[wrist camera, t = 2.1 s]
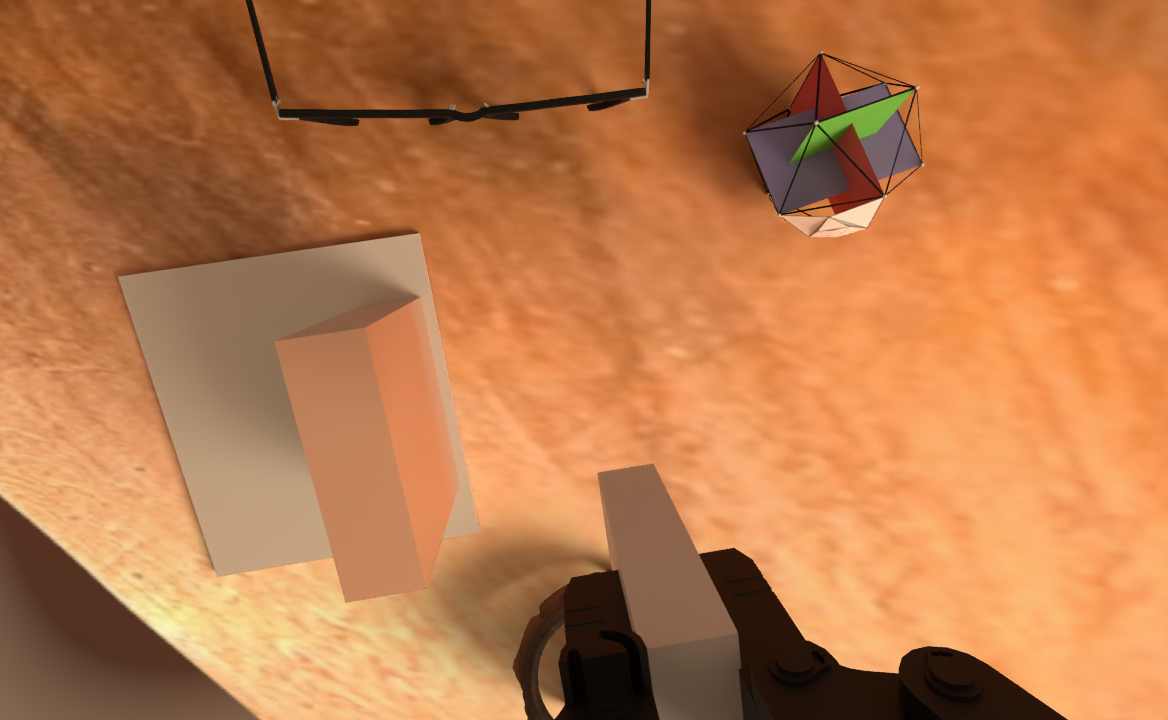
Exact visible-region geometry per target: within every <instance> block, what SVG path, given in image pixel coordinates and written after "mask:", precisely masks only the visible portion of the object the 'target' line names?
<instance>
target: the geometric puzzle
mask: <svg viewBox="0 0 1168 720" xmlns="http://www.w3.org/2000/svg"><path fill="white" fill-rule="evenodd" d="M822 54H823V55H825V56H827V57H829V58H831V59H834V58H835V57H832V56H829V55H826V54H824V53H823V51H822V50H821V51H819V55H818V56H817V57H816V58H817V59H816V58H815V59H816V61H815V63H814V64H813V66H812V68H811V70H810V72H809V74H808V75H807V77H806V79H805V81H804V83H803V84H802V86H801V88H800V90H799V92H798V93H797V95H796V97H795V99H794V101H793V102H792V104H791V106H790V107H789V108H788V109H787V110H785V111H783V112H781V113H779V114H777V115H775V116H774V117H772V118H770V119H768V120H766V121H764V122H762V123H760V124H758V125H756V126H754V127H752V128H751V129H749V128H750V127H751V126H752V125H753V124H754V123H755V122H756V121H757V120H758V119H759V118H758V119H757V120H756V121H755V122H754V123H753V124H752V125H751V126H750V127H749V128H748V129H749V130H748V129H747V130H746V131H744V132H743V135H746V138H747V140H748V143H749V146H750V148H751V151H752V154H753V156H754V159H755V162H756V161H757V162H756V165H757V164H758V165H757V167H758V166H759V167H758V170H759V169H760V170H759V173H760V171H761V173H762V175H761V173H760V175H761V178H762V176H763V178H764V181H765V183H766V185H767V188H768V192H767V194H766V195H767V196H771V197H772V200H773V202H774V204H773V205H775V206H774V207H776V208H775V209H776V211H777V213H778V214H777V216H778V217H780V216H781V217H782V218H783V219H785V220H786V221H788V222H789V223H790V224H792V225H793V226H794V227H796V228H797V229H798V230H800V231H801V232H802V233H804V234H805V235H806V236H808V237H839V236H843V235H846V234H849V233H853V232H856V231H860V230H863V229H866V228H868V226H869V225H870V223H871V221H872V219H873V217H874V215H875V214H876V212H877V210H878V208H879V206H880V205H881V203H882V201H883V199H884V198H886V197H887V194H889V193H890V192H891V191H892V190H893V189H894V188H896V187H897V186H898V185H899V184H900V183H902V182H903V181H904V180H905V179H906V178H907V177H909V176H910V175H911V174H912V173H913V172H914V171H916V170H917V169H918V168H919V167H920V166H921V167H922V166H924V163H922V161H921V159H920V157H919V155H918V153H917V150H916V148H915V146H914V144H913V142H912V140H911V137H910V135H909V133H908V131H907V129H906V125H907V121H908V118H909V114H910V111H911V108H912V104H913V101H914V97H915V94H916V90H917V89H919V85H916V86H912V85H909V84H907V83H904V82H901V81H898V80H896V79H893V78H890V77H887V76H885V77H887V78H890V79H893V80H896V81H898V82H901V83H904V84H907V85H909V86H907V85H900V84H893V83H887V82H883V81H881V80H878V79H876V78H874V77H872V76H870V75H868V74H866V73H864V72H861V71H859V70H857V69H855V68H853V67H851V66H849V65H847V64H845V63H842V62H840V61H843V60H840V59H838V60H840V61H838V60H836V59H837V58H835V59H834V60H836V61H838V62H840V63H842V64H844V65H846V66H848V67H851V68H853V69H855V70H857V71H859V72H861V73H863V74H865V75H868V76H870V77H872V78H874V79H876V80H878V81H880V82H882V83H880V84H877V85H873V86H869V87H866V88H862V89H858V90H855V91H851V92H847V93H844V94H839V92H838V90H837V88H836V85H835V83H834V81H833V79H832V77H831V74H830V72H829V70H828V68H827V65H826V63H825V61H824V59H823V56H822ZM815 59H814V60H815ZM814 60H813V61H814ZM813 61H812V62H813ZM812 62H811V63H812ZM843 62H846V61H843ZM811 63H810V64H811ZM846 63H849V62H846ZM810 64H809V65H810ZM849 64H851V63H849ZM809 65H808V66H809ZM851 65H854V64H851ZM808 66H807V67H808ZM854 66H857V65H854ZM807 67H806V68H807ZM857 67H860V66H857ZM806 68H805V69H806ZM860 68H862V67H860ZM805 69H804V70H805ZM863 69H865V68H863ZM865 70H868V69H865ZM868 71H871V70H868ZM871 72H873V71H871ZM874 73H876V72H874ZM801 74H802V73H801ZM801 74H800V75H801ZM876 74H879V73H876ZM800 75H799V76H800ZM879 75H882V74H879ZM799 76H798V77H799ZM882 76H884V75H882ZM798 77H797V78H798ZM797 78H796V79H797ZM796 79H795V80H796ZM795 80H794V81H795ZM794 81H793V82H794ZM793 82H792V83H793ZM792 83H791V84H792ZM791 84H790V85H791ZM887 84H890V85H896V86H903V87H910V88H911V89H908V90H905V91H902V92H899V93H896V94H894V95H891V94H890V92H889V90H888V87H887ZM790 85H789V86H790ZM789 86H788V87H789ZM788 87H787V88H788ZM787 88H786V89H787ZM786 89H785V90H786ZM785 90H784V91H785ZM862 90H863V91H862ZM914 90H915V92H914V96H913V99H912V102H911V106H910V109H909V113H908V116H907V119H906V123H905V124H904V122H903V120H902V118H901V116H900V113H899V111H898V108H899V107H900V106H901V105H902V103H903V102H904V101H905V100H906V99H907V98H908V97H909V96H910V95H911V93H912V92H913V91H914ZM784 91H783V92H784ZM859 91H860V92H859ZM855 92H857V93H855ZM851 93H855V94H852V95H849V96H846V97H843V98H841V97H840V96H844V95H848V94H851ZM780 96H781V95H780ZM780 96H779V97H780ZM779 97H778V98H779ZM778 98H777V99H778ZM777 99H776V100H777ZM776 100H775V101H776ZM775 101H774V102H775ZM774 102H773V103H774ZM773 103H772V104H773ZM917 103H918V95H917ZM772 104H771V105H772ZM771 105H770V106H771ZM770 106H769V107H770ZM769 107H768V108H769ZM768 108H767V109H768ZM767 109H766V110H767ZM766 110H765V111H766ZM765 111H764V112H765ZM787 111H788V115H787V118H784V119H781V120H778V121H775V122H772V123H770V124H767V125H764V126H761V127H758V126H760V125H762V124H764V123H766V122H768V121H770V120H772V119H773V118H775V117H777V116H779V115H781V114H783V113H785V112H787ZM764 112H763V113H764ZM790 112H791V113H792V116H789V114H790ZM763 113H762V114H763ZM918 117H919V108H918ZM756 127H758V128H756ZM754 128H755V129H754ZM919 130H920V122H919ZM920 144H921V136H920ZM921 157H922V149H921ZM917 166H919V167H918V168H917V169H915V170H914V171H913V172H912V173H911V174H910V175H908V176H907V177H906V178H905V179H904V180H902V181H901V182H900V183H899V184H898V185H897V186H895V187H894V188H893V189H892V190H891V191H889V192H888V193H887V190H888V186H889V183H890V179H891V176H892V175H894V174H897V173H900V172H903V171H906V170H908V169H911V168H914V167H917ZM889 176H890V178H889V181H888V184H887V188H886V191H885V194H884V193H883V191H882V189H881V186H880V184H879V182H878V180H880V179H883V178H886V177H889ZM763 178H762V181H763ZM764 181H763V183H764ZM764 186H765V184H764ZM765 189H766V186H765ZM766 191H767V189H766ZM886 193H887V194H886ZM769 198H770V197H769ZM826 198H828V199H829V201H830V204H831V205H828V206H823V207H817V208H811V209H806V210H799V209H798V208H801V207H803V206H806V205H809V204H812V203H815V202H818V201H820V200H823V199H826ZM770 200H771V199H770ZM772 200H771V202H772ZM773 202H772V203H773ZM831 206H832V208H833V211H834V213H835V215H833V216H831V217H814V216H811V215H809V214H807V213H805V212H803V211H808V210H814V209H820V208H825V207H831ZM795 209H797V210H799V211H794V212H789V211H792V210H795ZM786 212H789V213H786ZM797 212H803V213H805V214H807V215H809V216H789V215H785V214H791V213H797Z"/></svg>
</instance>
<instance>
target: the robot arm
mask: <svg viewBox="0 0 1168 720" xmlns="http://www.w3.org/2000/svg"><path fill="white" fill-rule="evenodd" d="M598 480H599V487H600V493H601V500H602V507H603V514H604V521H605V527H606V534H607V541H608V548H609V555H610V561H611V567H612V571H607V572H601V573H596V574H590V575H584V576H578V577H572V578H571V580H570V582H569V584H568V586H567V588H566V590H565V592H564V594H563V600H564V614H565V615H564V616H565V629H566V630H565V632H566V645H565V646H564V648H563V649H562V650H561V654H560V659H559V663H558V664H559V669H560V675H561V680H562V686H563V692H564V697H565V705H564V707H563V709H562V710H561V712H560V713H559V715H558V716H557V717H556V718H555V719H554V720H1067V719H1066V718H1065V717H1063V716H1062V715H1060V714H1059V713H1057V712H1056V711H1054V710H1053V709H1052V708H1050V707H1049V706H1047V705H1046V704H1044V703H1043V702H1041V701H1040V700H1038V699H1037V698H1036V697H1034V696H1033V695H1031V694H1030V693H1028V692H1027V691H1025V690H1024V689H1023V688H1021V687H1020V686H1018V685H1017V684H1015V683H1014V682H1012V681H1011V680H1010V679H1008V678H1007V677H1005V676H1004V675H1002V674H1001V673H999V672H998V671H996V670H995V669H994V668H992V667H991V666H989V665H988V664H986V663H984V662H982V661H981V660H979V659H977V658H975V657H973V656H971V655H969V654H967V653H964V652H960V651H957V650H954V649H950V648H946V647H931V646H927V647H923V648H918V649H913V650H911V651H910V652H909V653H907V654H906V655H905V656H903V657H902V659H901V663H900V666H899V674H897V673H885V672H872V671H863V670H856V669H850V668H847V667H844V666H841V665H839V663H838V662H837V660H836V659H835V658H834V657H833V656H832V655H831V654H830V653H829V652H828V651H827V650H826V649H824V648H822V647H820V646H818V645H816V644H814V643H812V642H810V641H806V640H805V639H804V637H803V636H802V634H801V633H800V631H799V630H798V628H797V627H796V625H795V624H794V622H793V621H792V619H791V617H790V616H789V614H788V613H787V611H786V610H785V608H784V607H783V605H782V604H781V602H780V601H779V599H778V598H777V596H776V595H775V593H774V592H772V590H771V587H770V586H769V584H768V583H767V581H766V580H765V579H764V578H763V575H762V574H761V572H760V570H759V569H758V567H757V566H756V564H755V563H754V561H753V560H752V559H751V558H749V557H747V556H746V555H744V554H743V553H741V552H740V551H738V550H737V549H735V548H731V549H725V550H719V551H713V552H707V553H702V554H698V552H697V550H696V548H695V546H694V544H693V542H692V540H691V538H690V536H689V534H688V532H687V530H686V528H685V526H684V524H683V522H682V520H681V518H680V516H679V514H678V512H677V510H676V508H675V506H674V504H673V502H672V500H671V498H670V496H669V494H668V492H667V490H666V488H665V486H664V484H663V482H662V480H661V478H660V476H659V474H658V472H657V470H656V468H655V466H654V464H648V465H642V466H636V467H630V468H624V469H618V470H612V471H606V472H600V473H598Z"/></svg>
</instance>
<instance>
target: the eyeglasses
mask: <svg viewBox="0 0 1168 720" xmlns="http://www.w3.org/2000/svg"><path fill="white" fill-rule="evenodd" d="M246 3H247V7H248V11H249V15H250V19H251V22H252V26H253V30H254V34H255V38H256V42H257V45H258V49H259V53H260V57H261V61H262V65H263V69H264V72H265V76H266V80H267V84H268V88H269V92H270V95H271V99H272V103H273V104H272V105H273V106H274V108H275V110H276V113H277V116H278V119H279V120H304V121H311V122H319V123H326V124H333V125H343V126H357V125H358V124H359V121H360V120H358V119H345V118H430V119H429V123H430V125H439V124H444V123H448V122H451V121H454V120H458V121H464V122H470V121H474V120H477V119H480V118H482V117H484V118H490V119H499V120H518V119H519V114H518V113H511V112H521V111H530V110H538V109H546V108H553V107H561V106H570V105H579V104H588V103H595V102H600V103H597V104H592V105H588V106H587V108H588V110H589V111H597V110H602V109H606V108H609V107H613V106H615V105H618V104H621V103H624V102H627V101H630V100H634V99H643V98H647V97H648V94H649V83H650V82H649V77H650V28H651V0H646V40H645V78H643V79H642V83H643V84H644V86H646V89H645V88H636V89H628V90H620V91H613V92H606V93H599V94H592V95H583V96H574V97H566V98H557V99H550V100H542V101H534V102H526V103H517V104H507V105H499V106H489V104H486V103H484V106H485V107H483V108H480V109H479V111H476V112H472V113H462V112H458V111H456V110H454V109H455V104H453V105H450V107H449V109H425V110H319V109H279V108H280V105H281V104H282V101H281V100H279V99H278V96H277V92H276V88H275V84H274V81H273V77H272V73H271V69H270V66H269V62H268V58H267V54H266V51H265V47H264V43H263V39H262V36H261V32H260V28H259V24H258V21H257V17H256V13H255V9H254V5H253V2H252V0H246ZM603 101H604V102H603Z"/></svg>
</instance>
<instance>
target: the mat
mask: <svg viewBox="0 0 1168 720" xmlns="http://www.w3.org/2000/svg"><path fill="white" fill-rule="evenodd" d="M118 279H119V282H120V285H121V288H122V291H123V294H124V297H125V300H126V303H127V306H128V309H129V312H130V315H131V318H132V321H133V324H134V327H135V330H136V333H137V336H138V340H139V343H140V346H141V349H142V352H143V355H144V358H145V361H146V364H147V367H148V370H149V373H150V376H151V379H152V382H153V385H154V388H155V391H156V394H157V397H158V400H159V403H160V406H161V409H162V412H163V415H164V418H165V421H166V424H167V427H168V430H169V433H170V436H171V439H172V442H173V445H174V448H175V451H176V454H177V457H178V460H179V463H180V466H181V469H182V472H183V475H184V478H185V481H186V484H187V487H188V490H189V493H190V496H191V499H192V502H193V505H194V508H195V511H196V514H197V517H198V520H199V523H200V526H201V529H202V532H203V536H204V539H205V542H206V545H207V548H208V551H209V554H210V557H211V560H212V563H213V566H214V569H215V572H216V575H217V577H220V576H226V575H231V574H237V573H243V572H249V571H255V570H261V569H267V568H273V567H279V566H285V565H291V564H297V563H303V562H309V561H315V560H321V559H327V558H333V554H332V551H331V547H330V544H329V540H328V536H327V533H326V529H325V525H324V522H323V518H322V514H321V511H320V507H319V504H318V500H317V496H316V493H315V489H314V485H313V482H312V478H311V474H310V471H309V467H308V464H307V460H306V456H305V453H304V449H303V445H302V442H301V438H300V434H299V431H298V427H297V423H296V420H295V416H294V413H293V409H292V405H291V402H290V398H289V394H288V391H287V387H286V383H285V380H284V376H283V373H282V369H281V365H280V362H279V358H278V354H277V351H276V347H275V343H274V341H276V340H279V339H281V338H283V337H286V336H288V335H291V334H293V333H296V332H298V331H300V330H303V329H305V328H308V327H310V326H313V325H315V324H317V323H320V322H322V321H325V320H327V319H329V318H332V317H334V316H337V315H339V314H342V313H344V312H346V311H349V310H351V309H354V308H356V307H359V306H364V305H371V304H378V303H385V302H391V301H398V300H405V299H412V298H418V297H421V301H422V306H423V311H424V316H425V320H426V325H427V330H428V335H429V340H430V344H431V349H432V354H433V359H434V364H435V368H436V373H437V378H438V383H439V387H440V392H441V397H442V402H443V407H444V411H445V416H446V421H447V426H448V430H449V435H450V440H451V445H452V450H453V454H454V459H455V464H456V469H457V474H458V478H459V483H460V485H459V488H458V491H457V494H456V497H455V500H454V503H453V507H452V510H451V513H450V516H449V519H448V522H447V525H446V529H445V532H444V535H443V538H442V539H447V538H453V537H458V536H464V535H470V534H476V533H480V526H479V521H478V516H477V511H476V506H475V501H474V496H473V491H472V487H471V482H470V477H469V472H468V467H467V462H466V457H465V452H464V447H463V442H462V438H461V433H460V428H459V423H458V418H457V413H456V408H455V403H454V398H453V393H452V389H451V384H450V379H449V374H448V369H447V364H446V359H445V354H444V349H443V344H442V340H441V335H440V330H439V325H438V320H437V315H436V310H435V305H434V300H433V295H432V290H431V286H430V281H429V276H428V271H427V266H426V261H425V256H424V251H423V246H422V241H421V237H420V233H417V234H410V235H403V236H396V237H389V238H382V239H375V240H368V241H361V242H354V243H347V244H340V245H334V246H327V247H320V248H313V249H306V250H299V251H292V252H285V253H278V254H271V255H264V256H257V257H250V258H243V259H236V260H229V261H222V262H216V263H209V264H202V265H195V266H188V267H181V268H174V269H167V270H160V271H153V272H146V273H139V274H132V275H125V276H118Z"/></svg>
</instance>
